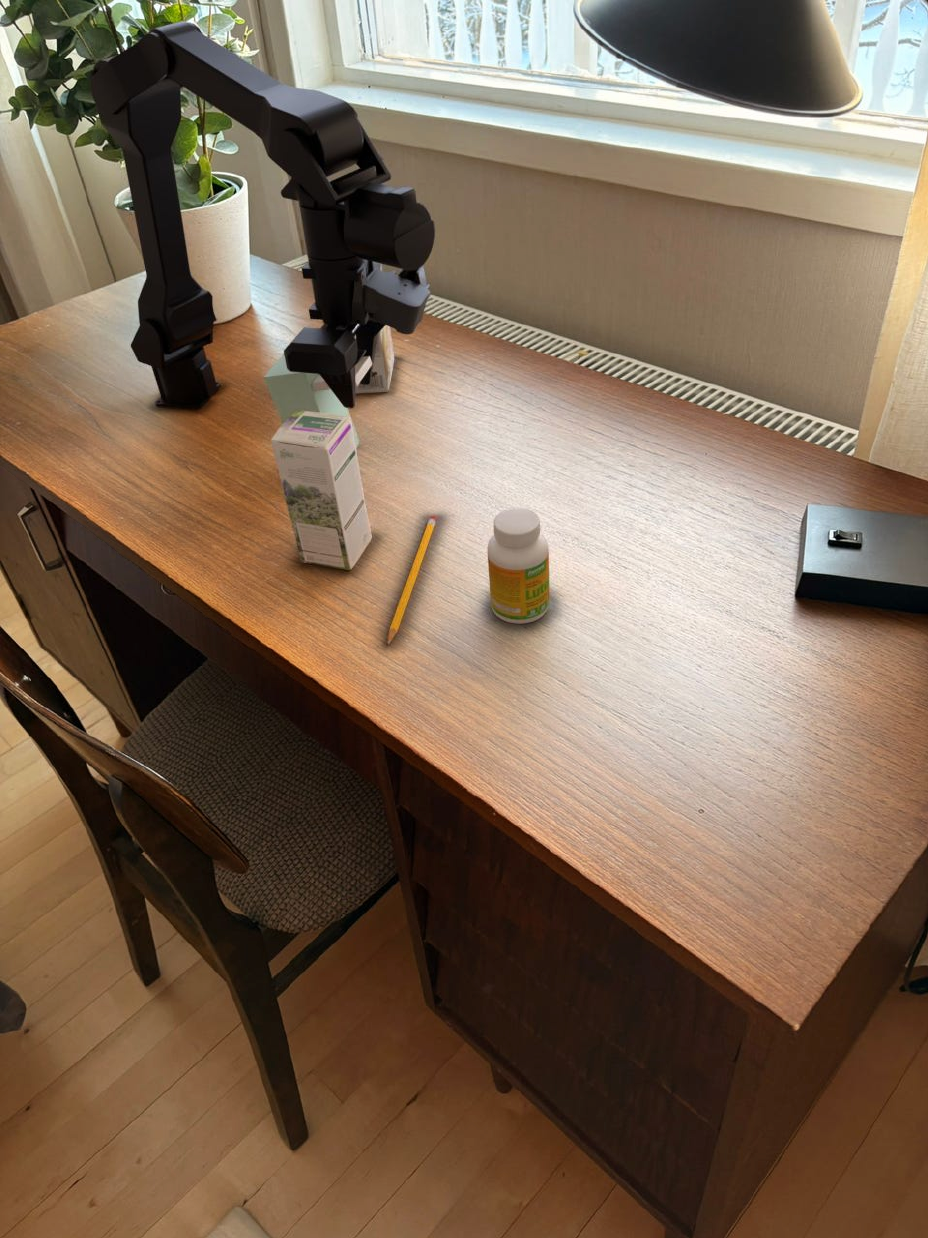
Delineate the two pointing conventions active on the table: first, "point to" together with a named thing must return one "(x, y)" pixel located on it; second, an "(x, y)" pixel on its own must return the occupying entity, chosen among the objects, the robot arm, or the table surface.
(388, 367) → the coffee box
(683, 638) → the table surface
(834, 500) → the table surface
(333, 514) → the syrup box
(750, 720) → the table surface
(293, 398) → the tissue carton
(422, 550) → the pencil
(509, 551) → the supplement bottle
